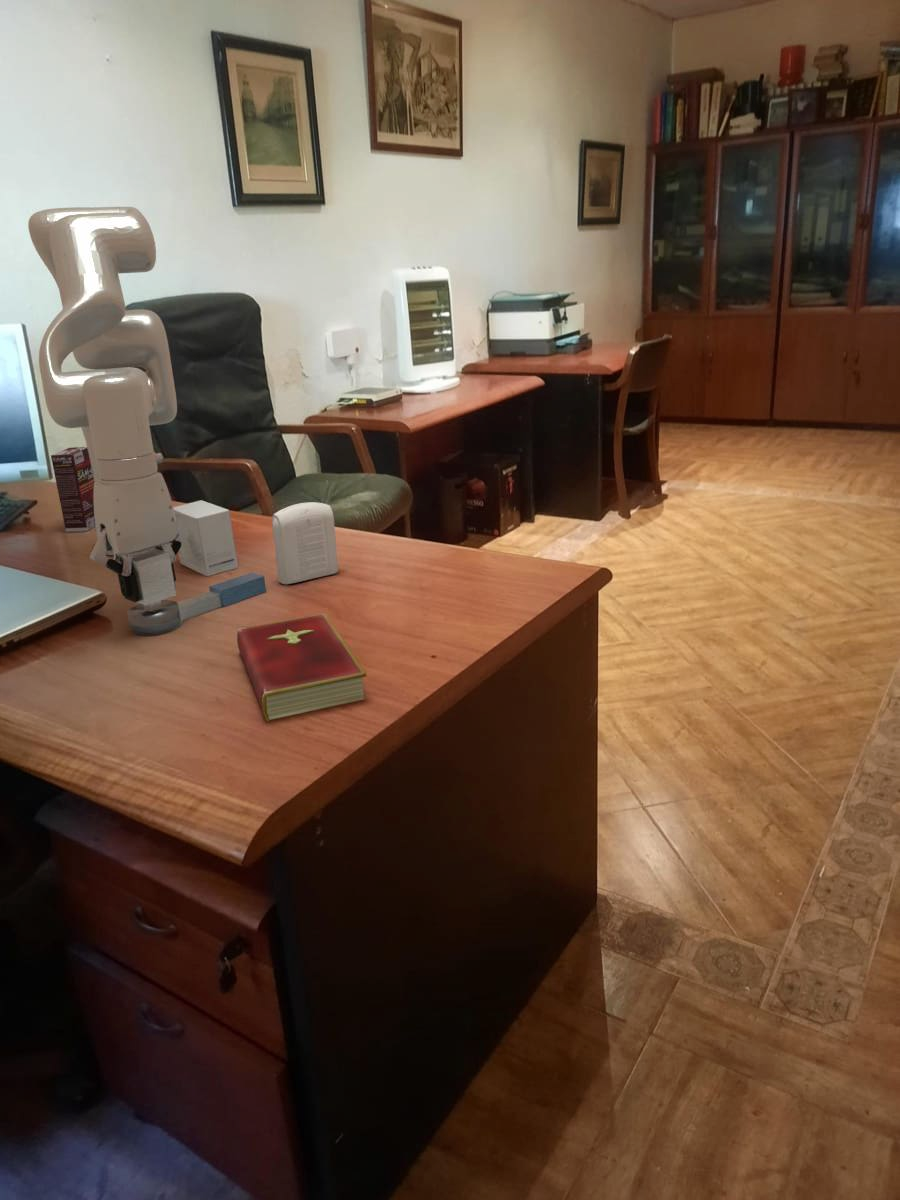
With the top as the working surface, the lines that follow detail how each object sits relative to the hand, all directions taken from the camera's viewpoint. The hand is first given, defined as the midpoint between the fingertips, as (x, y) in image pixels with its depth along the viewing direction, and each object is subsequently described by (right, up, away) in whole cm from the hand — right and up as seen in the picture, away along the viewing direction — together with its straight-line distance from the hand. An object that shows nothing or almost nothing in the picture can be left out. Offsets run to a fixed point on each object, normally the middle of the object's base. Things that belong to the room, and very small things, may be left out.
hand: (150, 592), depth 126 cm
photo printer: (+20, +3, +19) cm, 28 cm away
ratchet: (+5, -3, +7) cm, 9 cm away
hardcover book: (+24, -11, -16) cm, 31 cm away
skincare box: (+1, +5, +28) cm, 28 cm away
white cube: (0, -1, 0) cm, 1 cm away
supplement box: (-33, +14, +58) cm, 68 cm away
